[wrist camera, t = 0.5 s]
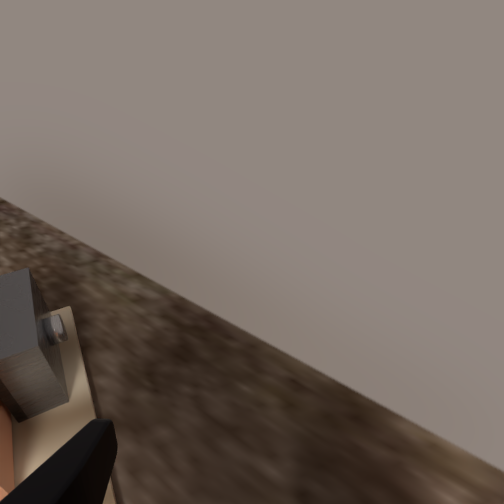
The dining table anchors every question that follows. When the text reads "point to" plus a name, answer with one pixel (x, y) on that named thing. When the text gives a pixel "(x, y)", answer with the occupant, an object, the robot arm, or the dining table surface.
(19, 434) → the base board
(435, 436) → the dining table surface
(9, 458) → the peg post
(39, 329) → the band block
